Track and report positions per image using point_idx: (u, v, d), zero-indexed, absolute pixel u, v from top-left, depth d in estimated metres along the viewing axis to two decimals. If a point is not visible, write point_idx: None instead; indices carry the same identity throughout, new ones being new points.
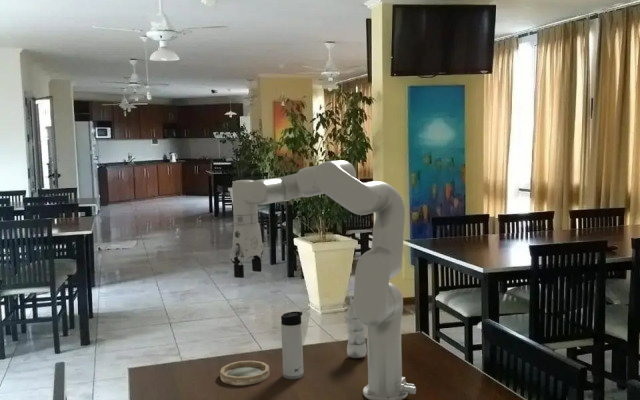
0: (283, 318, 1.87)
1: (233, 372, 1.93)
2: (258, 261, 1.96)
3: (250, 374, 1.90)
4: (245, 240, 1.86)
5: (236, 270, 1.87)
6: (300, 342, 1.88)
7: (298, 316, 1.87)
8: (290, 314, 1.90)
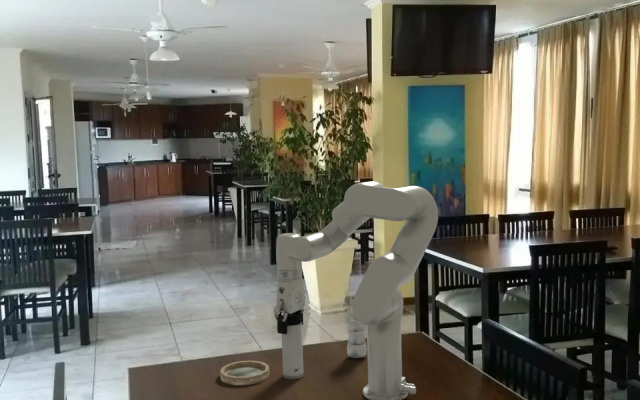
0: None
1: (233, 372, 1.93)
2: None
3: (250, 374, 1.90)
4: (289, 296, 1.83)
5: (279, 326, 1.84)
6: (300, 342, 1.88)
7: (298, 316, 1.87)
8: (290, 314, 1.90)
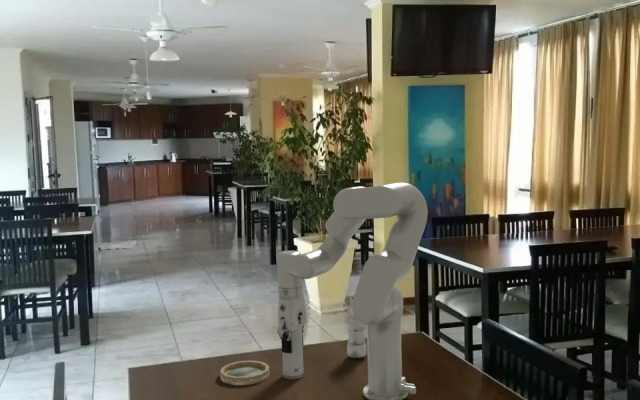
0: None
1: (233, 372, 1.93)
2: None
3: (250, 374, 1.90)
4: (291, 314, 1.84)
5: (284, 345, 1.86)
6: (300, 342, 1.88)
7: (298, 316, 1.87)
8: None
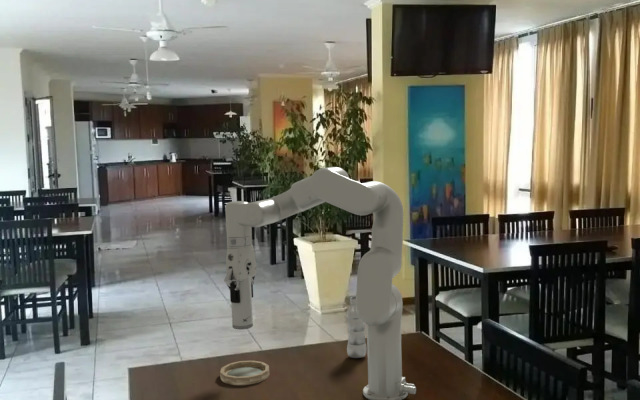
0: None
1: (233, 372, 1.93)
2: None
3: (250, 374, 1.90)
4: (238, 263, 1.83)
5: (232, 295, 1.86)
6: (249, 292, 1.88)
7: (246, 266, 1.87)
8: None
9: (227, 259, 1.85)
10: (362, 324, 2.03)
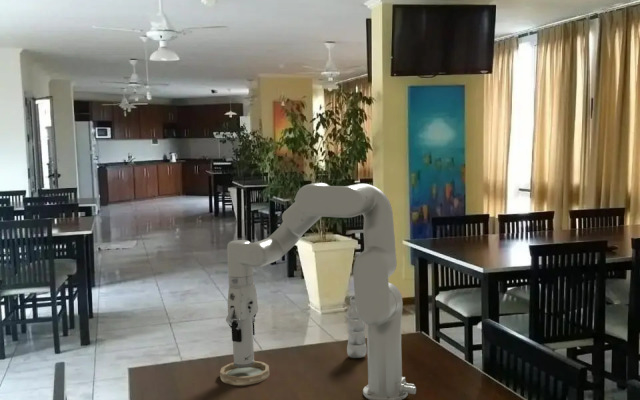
0: None
1: (233, 372, 1.93)
2: None
3: (250, 374, 1.90)
4: (240, 303, 1.84)
5: (234, 334, 1.87)
6: (250, 331, 1.89)
7: None
8: None
9: (229, 298, 1.86)
10: (362, 324, 2.03)
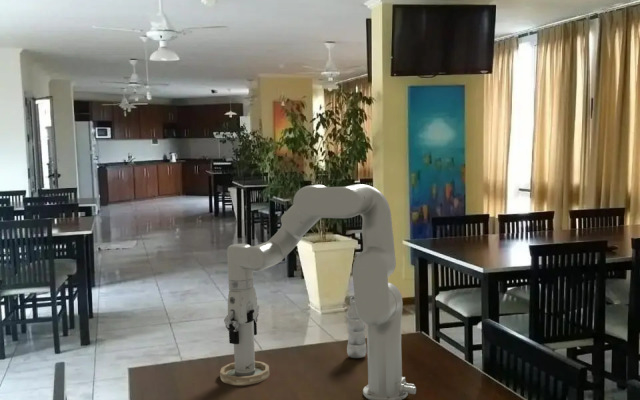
0: None
1: (233, 372, 1.93)
2: None
3: None
4: (240, 306, 1.85)
5: (231, 336, 1.85)
6: (251, 340, 1.89)
7: (249, 314, 1.88)
8: None
9: (229, 302, 1.86)
10: (362, 324, 2.03)
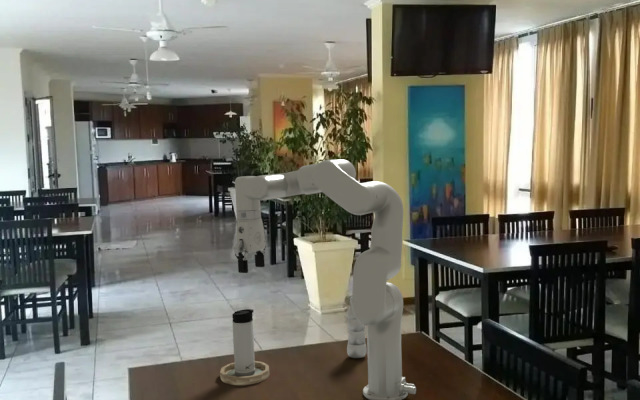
0: (234, 316, 1.88)
1: (233, 372, 1.93)
2: (261, 256, 1.98)
3: None
4: (248, 235, 1.88)
5: (240, 265, 1.89)
6: (251, 339, 1.89)
7: (249, 314, 1.88)
8: (242, 312, 1.91)
9: (237, 232, 1.90)
10: (362, 324, 2.03)
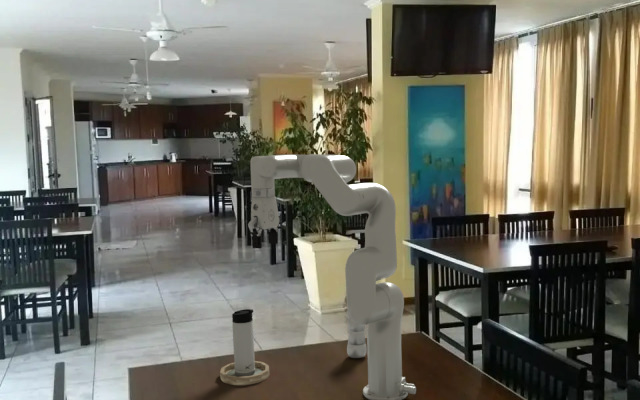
0: (234, 316, 1.88)
1: (233, 372, 1.93)
2: (274, 234, 2.06)
3: None
4: (263, 212, 1.97)
5: (254, 241, 1.98)
6: (251, 339, 1.89)
7: (249, 314, 1.88)
8: (241, 312, 1.91)
9: (252, 209, 1.98)
10: None
